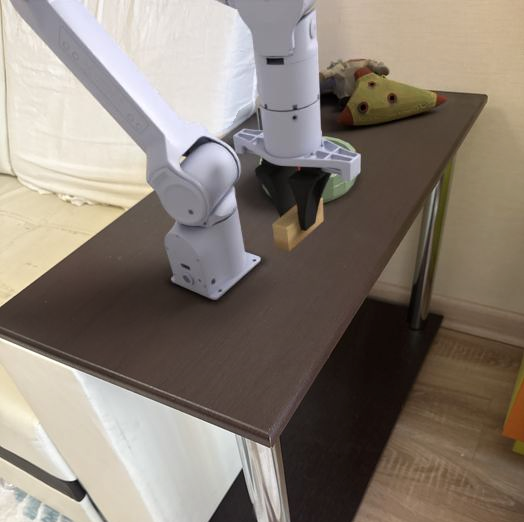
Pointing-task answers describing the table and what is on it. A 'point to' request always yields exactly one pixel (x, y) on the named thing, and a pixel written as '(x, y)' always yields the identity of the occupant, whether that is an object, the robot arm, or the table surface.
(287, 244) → the block
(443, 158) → the table surface
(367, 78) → the ocarina
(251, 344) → the table surface
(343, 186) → the bowl
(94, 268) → the table surface
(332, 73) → the figurine
